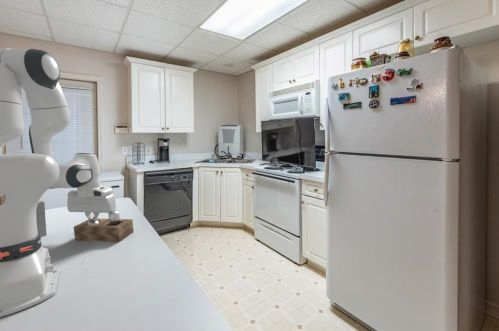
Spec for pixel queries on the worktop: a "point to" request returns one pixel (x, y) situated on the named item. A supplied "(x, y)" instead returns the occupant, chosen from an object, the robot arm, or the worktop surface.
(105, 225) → the walnut block
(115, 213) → the steel peg
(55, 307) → the worktop surface
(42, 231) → the skincare box
